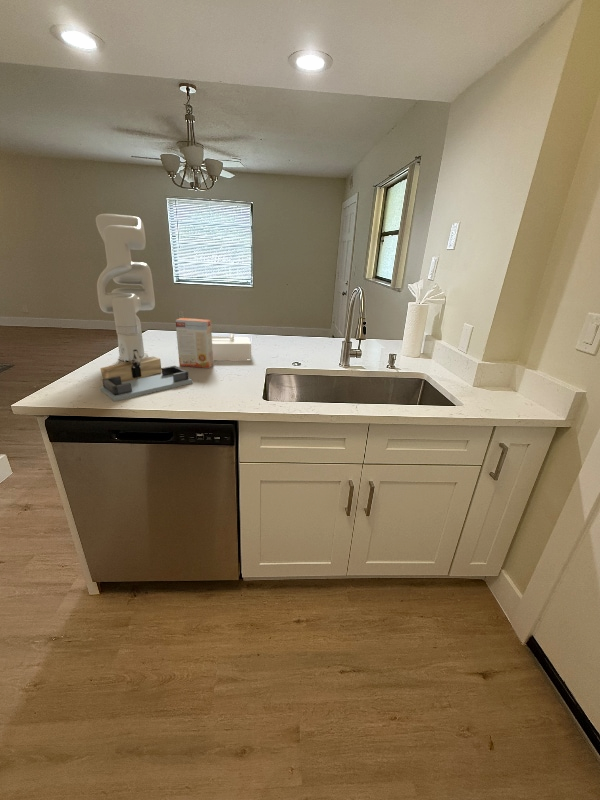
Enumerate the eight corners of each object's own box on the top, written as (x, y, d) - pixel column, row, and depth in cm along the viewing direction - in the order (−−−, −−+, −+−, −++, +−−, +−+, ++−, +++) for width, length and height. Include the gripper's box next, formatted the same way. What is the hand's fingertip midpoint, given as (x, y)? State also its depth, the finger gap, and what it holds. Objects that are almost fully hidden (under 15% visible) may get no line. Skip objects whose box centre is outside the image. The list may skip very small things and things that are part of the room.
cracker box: (213, 364, 157) (211, 319, 149) (209, 368, 152) (206, 321, 143) (184, 362, 158) (180, 317, 150) (178, 366, 152) (174, 319, 144)
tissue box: (251, 360, 167) (251, 339, 163) (198, 361, 162) (197, 338, 157) (248, 353, 180) (248, 332, 176) (200, 353, 175) (198, 332, 170)
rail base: (100, 390, 122) (98, 378, 120) (176, 374, 142) (175, 364, 140) (114, 401, 114) (112, 388, 112) (192, 383, 133) (191, 372, 132)
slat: (103, 383, 128) (100, 368, 126) (154, 369, 145) (152, 356, 143) (110, 386, 126) (107, 371, 123) (161, 372, 143) (160, 358, 141)
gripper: (108, 326, 131) (115, 371, 138) (126, 335, 120) (133, 382, 127) (128, 325, 136) (134, 368, 143) (147, 332, 125) (152, 378, 132)
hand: (133, 374), depth 135 cm, fingers closed on slat, 5 cm apart
